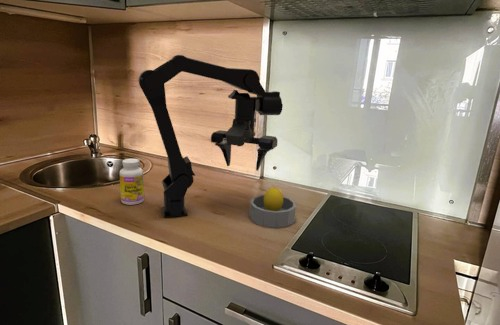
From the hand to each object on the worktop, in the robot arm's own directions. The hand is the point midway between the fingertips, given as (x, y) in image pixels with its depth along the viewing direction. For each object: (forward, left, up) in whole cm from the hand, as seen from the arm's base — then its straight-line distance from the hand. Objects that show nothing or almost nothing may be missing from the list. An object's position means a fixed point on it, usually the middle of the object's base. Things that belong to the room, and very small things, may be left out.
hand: (242, 168), depth 95 cm
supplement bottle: (-11, -31, -12) cm, 35 cm away
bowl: (+10, +6, -12) cm, 17 cm away
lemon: (+10, +6, -11) cm, 16 cm away
